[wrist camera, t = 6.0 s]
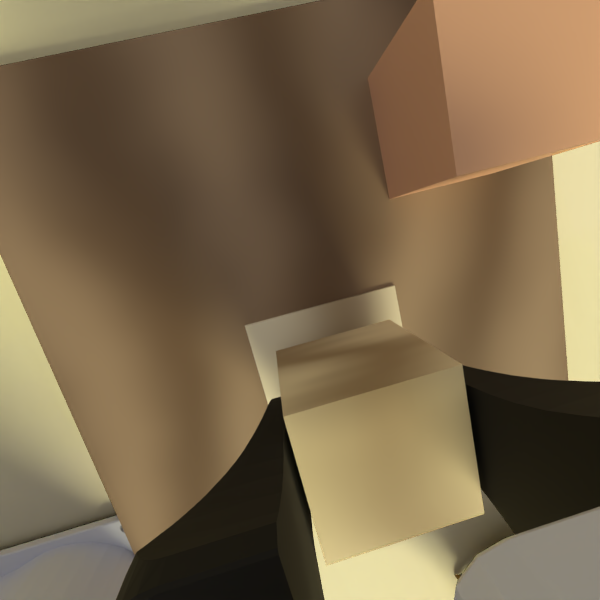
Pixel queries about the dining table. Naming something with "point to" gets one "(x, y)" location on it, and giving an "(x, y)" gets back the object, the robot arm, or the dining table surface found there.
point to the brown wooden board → (244, 237)
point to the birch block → (379, 437)
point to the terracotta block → (485, 88)
